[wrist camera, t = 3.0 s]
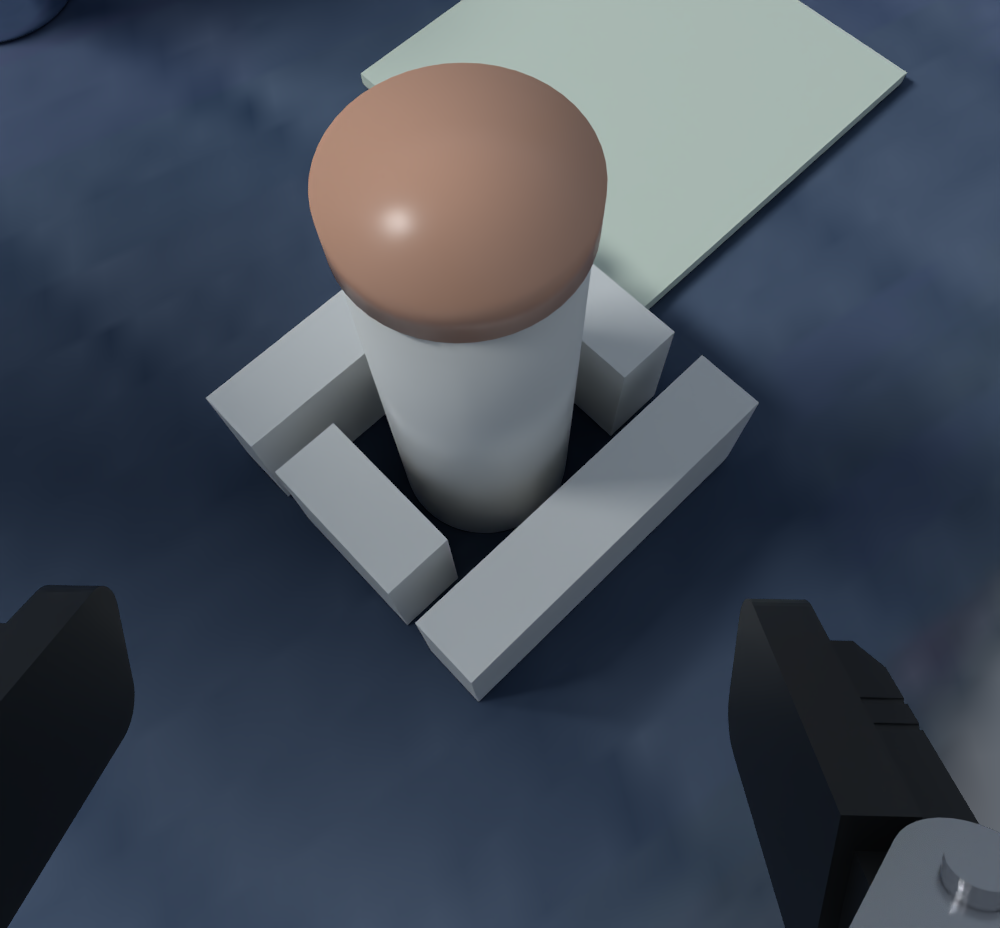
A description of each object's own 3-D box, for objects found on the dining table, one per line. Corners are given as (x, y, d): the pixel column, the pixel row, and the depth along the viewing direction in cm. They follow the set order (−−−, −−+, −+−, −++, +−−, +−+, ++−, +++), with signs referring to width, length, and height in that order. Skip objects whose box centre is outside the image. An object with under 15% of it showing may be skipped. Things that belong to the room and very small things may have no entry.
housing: (248, 453, 28) (205, 397, 24) (491, 253, 30) (486, 174, 26) (478, 702, 25) (471, 683, 21) (726, 458, 27) (758, 402, 24)
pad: (363, 83, 33) (360, 73, 33) (621, -105, 36) (622, -117, 36) (639, 317, 29) (641, 309, 29) (901, 83, 32) (906, 72, 32)
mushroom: (367, 454, 28) (247, 177, 16) (488, 350, 29) (465, 19, 17) (482, 571, 26) (448, 365, 14) (604, 456, 27) (670, 177, 15)
